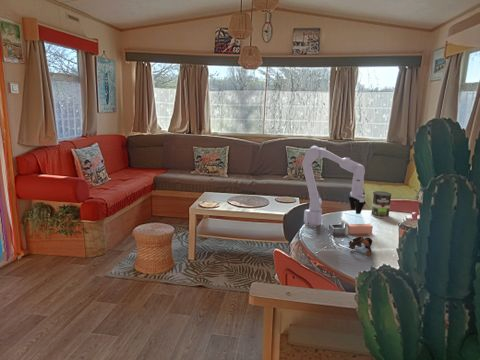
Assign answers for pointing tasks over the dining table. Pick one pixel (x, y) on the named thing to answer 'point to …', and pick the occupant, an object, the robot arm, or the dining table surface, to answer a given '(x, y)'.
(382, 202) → the coffee can
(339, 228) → the dispenser
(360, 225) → the copper rectangular block
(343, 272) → the dining table surface
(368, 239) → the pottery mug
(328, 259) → the dining table surface
